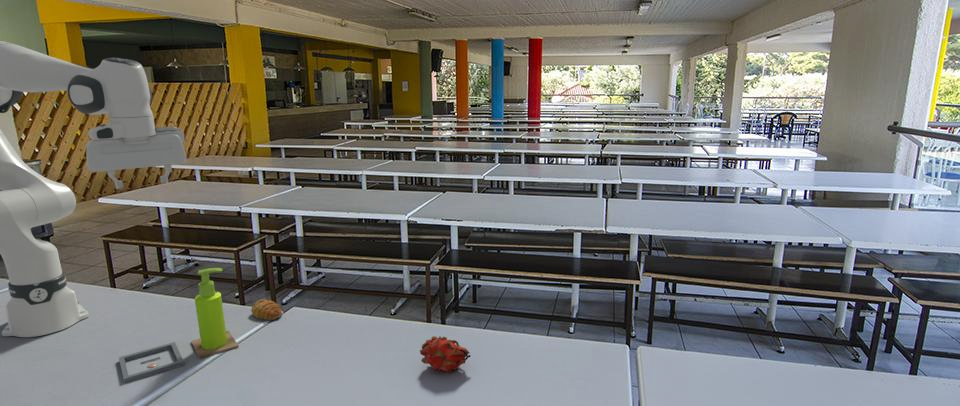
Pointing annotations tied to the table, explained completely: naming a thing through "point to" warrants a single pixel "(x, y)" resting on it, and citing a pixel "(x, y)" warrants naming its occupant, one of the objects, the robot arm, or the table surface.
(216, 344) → the soap dispenser
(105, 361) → the table surface
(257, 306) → the pastry
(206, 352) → the walnut pad
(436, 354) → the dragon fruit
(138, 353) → the slate frame
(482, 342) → the table surface
